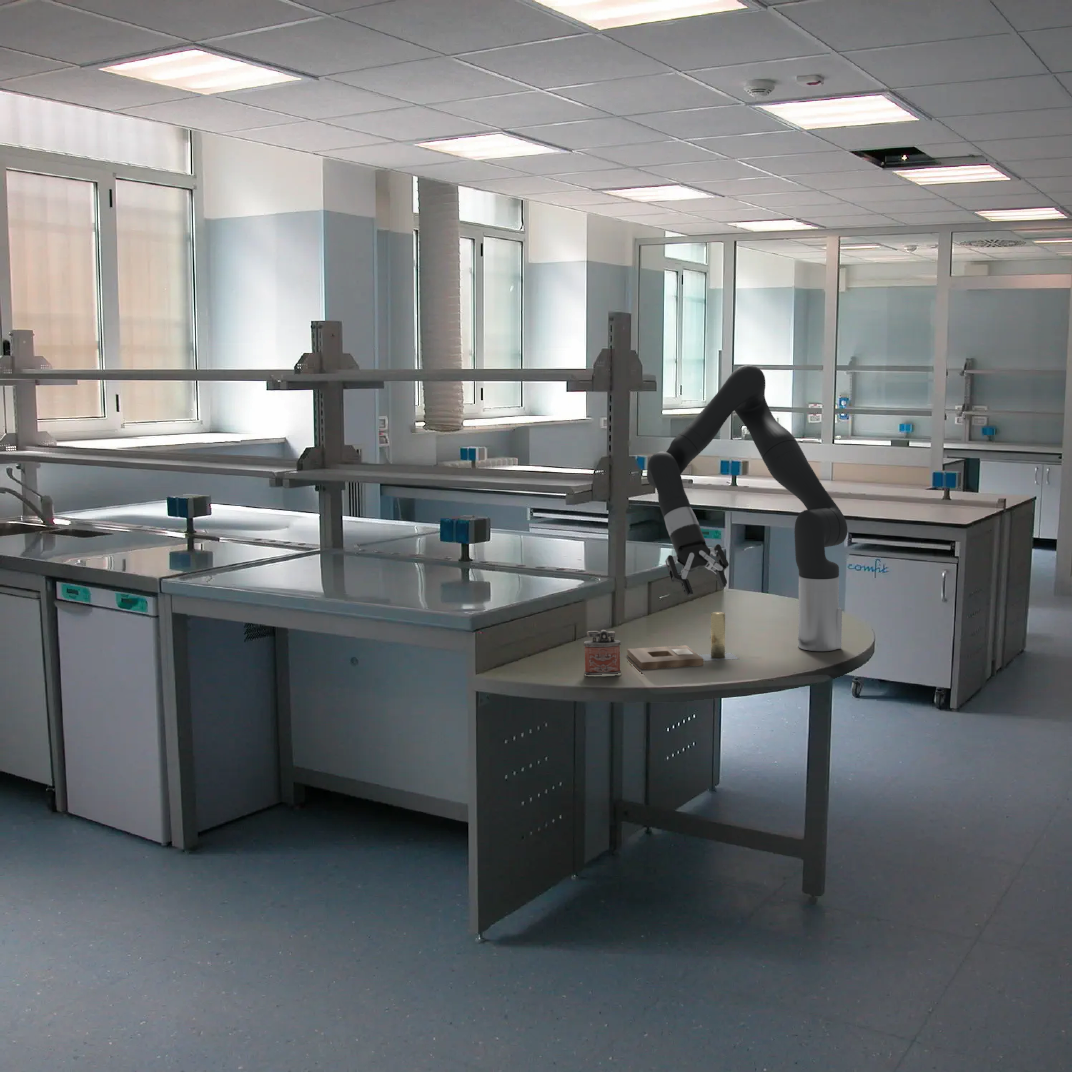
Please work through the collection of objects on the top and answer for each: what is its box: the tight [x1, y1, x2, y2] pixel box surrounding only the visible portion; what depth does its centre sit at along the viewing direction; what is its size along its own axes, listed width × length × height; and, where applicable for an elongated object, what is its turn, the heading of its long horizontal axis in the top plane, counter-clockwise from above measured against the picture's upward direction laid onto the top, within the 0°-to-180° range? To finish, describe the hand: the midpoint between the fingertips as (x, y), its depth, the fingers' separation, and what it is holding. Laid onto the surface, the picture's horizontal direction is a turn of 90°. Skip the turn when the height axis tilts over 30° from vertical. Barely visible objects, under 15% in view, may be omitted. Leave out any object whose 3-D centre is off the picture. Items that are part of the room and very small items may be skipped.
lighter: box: [583, 629, 622, 675], centre depth 246 cm, size 8×3×10 cm, turn 92°
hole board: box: [626, 644, 704, 674], centre depth 252 cm, size 14×13×3 cm
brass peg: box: [710, 611, 726, 658], centre depth 254 cm, size 3×3×10 cm
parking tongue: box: [698, 652, 740, 662], centre depth 254 cm, size 8×6×2 cm
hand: (707, 591), depth 263 cm, fingers open, 8 cm apart
